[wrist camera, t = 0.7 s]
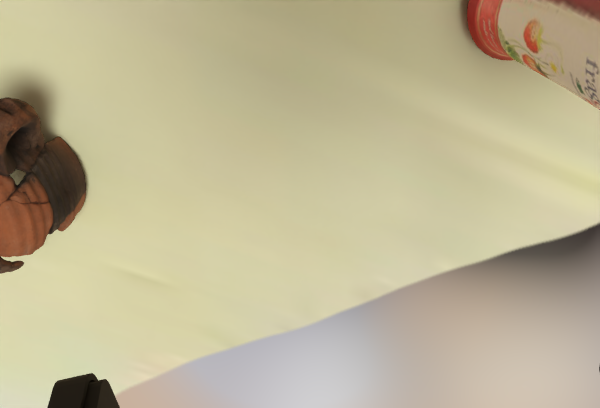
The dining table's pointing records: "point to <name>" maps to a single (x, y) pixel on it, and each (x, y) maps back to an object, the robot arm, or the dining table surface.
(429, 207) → the dining table surface
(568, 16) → the liquor
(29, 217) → the brown creature figurine
